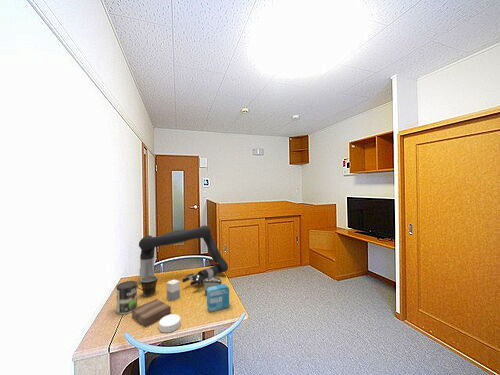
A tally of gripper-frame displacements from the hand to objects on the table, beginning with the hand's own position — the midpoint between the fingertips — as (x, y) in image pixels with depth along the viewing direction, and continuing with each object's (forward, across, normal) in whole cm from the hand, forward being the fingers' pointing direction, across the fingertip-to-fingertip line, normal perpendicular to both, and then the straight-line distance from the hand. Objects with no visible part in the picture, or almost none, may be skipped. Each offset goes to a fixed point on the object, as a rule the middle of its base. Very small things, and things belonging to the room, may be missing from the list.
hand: (186, 282), depth 143 cm
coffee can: (+33, -10, +6) cm, 35 cm away
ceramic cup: (+18, -17, +6) cm, 26 cm away
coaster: (+27, +23, +6) cm, 36 cm away
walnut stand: (+28, +7, +6) cm, 30 cm away
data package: (+2, +31, +6) cm, 32 cm away
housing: (+10, 0, +6) cm, 12 cm away
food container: (-8, +17, +6) cm, 20 cm away
